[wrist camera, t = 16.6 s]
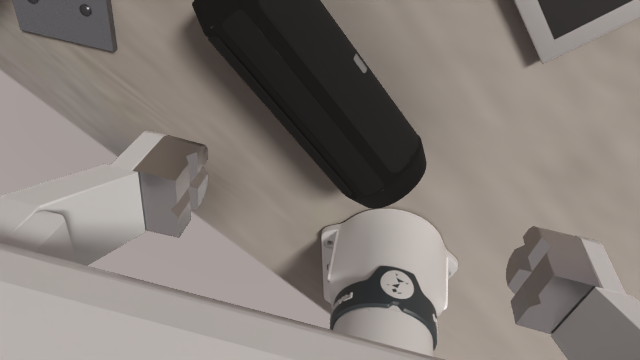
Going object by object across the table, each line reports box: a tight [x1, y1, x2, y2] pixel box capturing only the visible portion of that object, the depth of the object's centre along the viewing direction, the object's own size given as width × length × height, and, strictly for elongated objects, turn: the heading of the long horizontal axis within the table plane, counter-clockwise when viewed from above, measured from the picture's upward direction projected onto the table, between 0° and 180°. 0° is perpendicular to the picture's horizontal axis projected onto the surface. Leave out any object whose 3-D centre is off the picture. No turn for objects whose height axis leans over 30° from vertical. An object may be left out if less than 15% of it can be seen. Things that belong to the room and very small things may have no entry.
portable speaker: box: [192, 0, 426, 209], centre depth 41 cm, size 26×10×10 cm, turn 39°
